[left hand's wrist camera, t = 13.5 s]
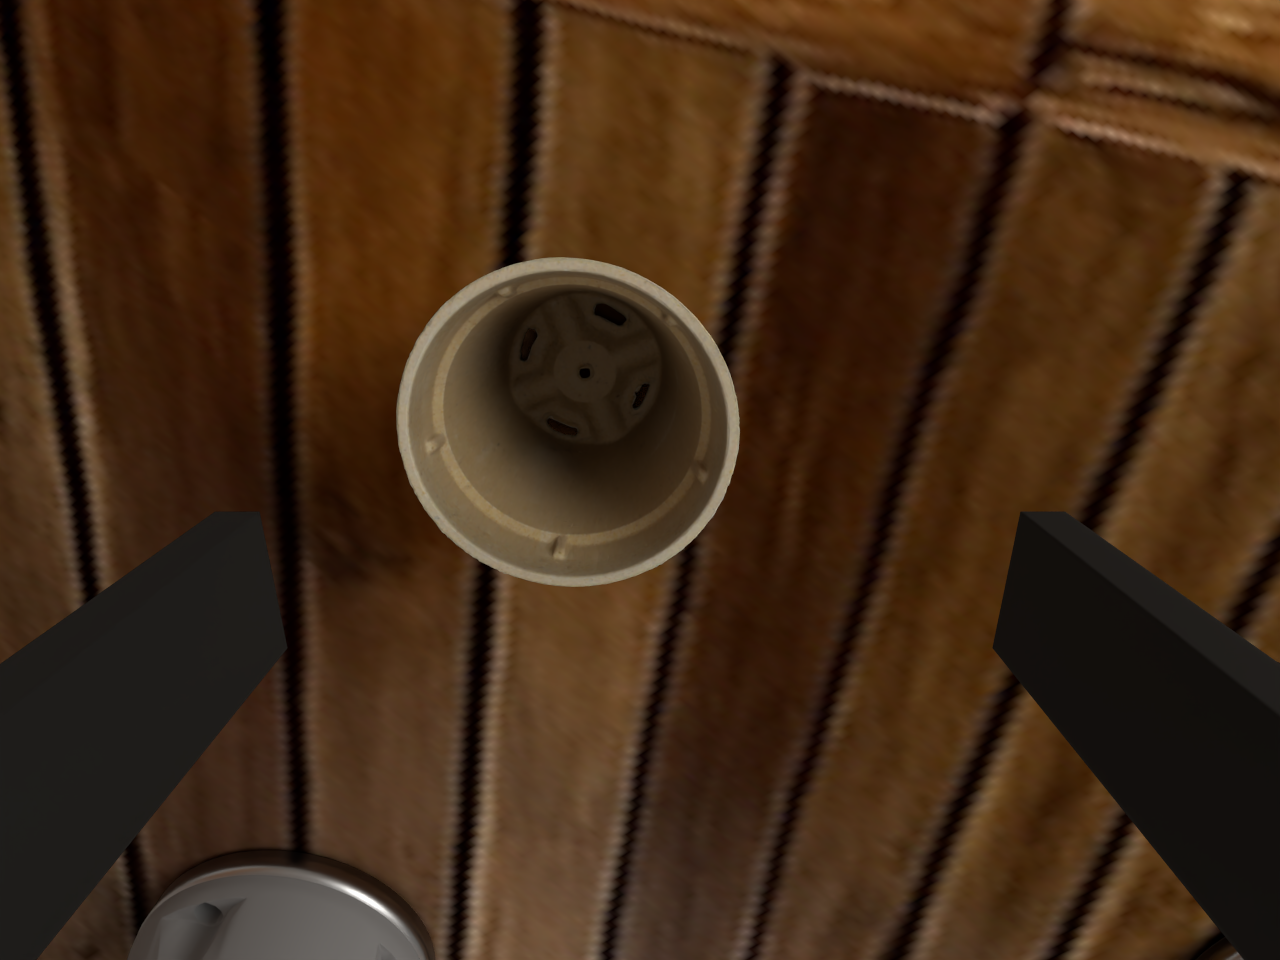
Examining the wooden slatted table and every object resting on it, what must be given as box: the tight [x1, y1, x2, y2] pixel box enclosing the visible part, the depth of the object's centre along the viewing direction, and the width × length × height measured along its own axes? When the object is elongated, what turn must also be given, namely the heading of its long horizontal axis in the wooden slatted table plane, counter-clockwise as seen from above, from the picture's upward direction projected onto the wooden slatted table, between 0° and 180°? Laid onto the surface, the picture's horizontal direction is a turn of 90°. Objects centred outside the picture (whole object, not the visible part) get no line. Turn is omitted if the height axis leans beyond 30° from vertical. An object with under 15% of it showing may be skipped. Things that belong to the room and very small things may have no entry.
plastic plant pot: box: [396, 257, 740, 587], centre depth 24 cm, size 9×9×9 cm
